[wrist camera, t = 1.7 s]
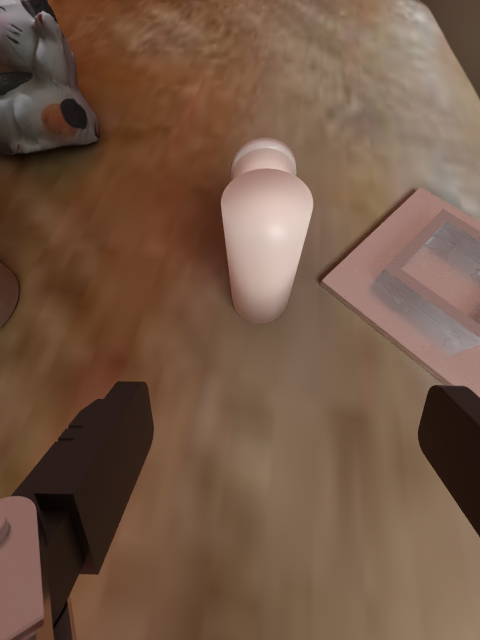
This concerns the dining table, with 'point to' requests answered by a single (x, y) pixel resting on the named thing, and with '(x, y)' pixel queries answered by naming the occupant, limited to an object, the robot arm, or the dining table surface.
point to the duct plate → (420, 286)
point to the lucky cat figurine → (39, 83)
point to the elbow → (264, 227)
